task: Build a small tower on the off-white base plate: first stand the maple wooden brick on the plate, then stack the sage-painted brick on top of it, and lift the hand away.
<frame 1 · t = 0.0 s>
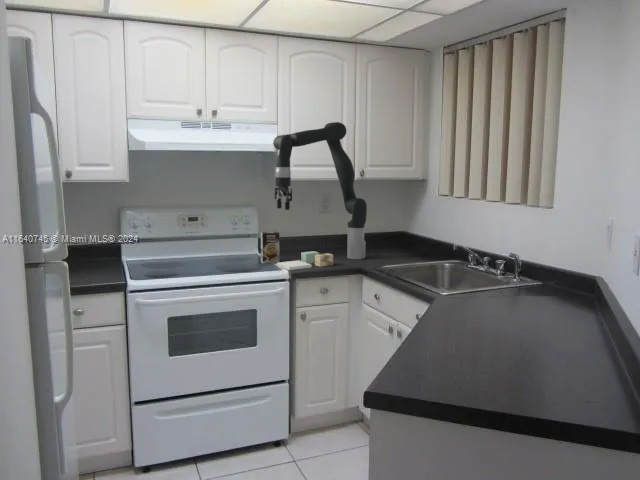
hand: (283, 209, 265), 29 cm above the counter, tool pointing down, fingers open, 8 cm apart
baseplate: (294, 266, 269), on the counter
cookie box: (270, 262, 280), on the counter
maple brick: (324, 265, 274), on the counter
sage brick: (310, 262, 280), on the counter
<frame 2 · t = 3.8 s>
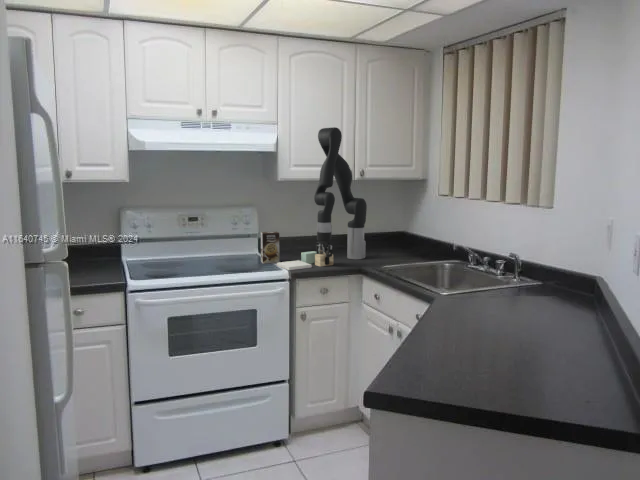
hand: (324, 263, 274), 1 cm above the counter, tool pointing down, fingers closed on maple brick, 5 cm apart
maple brick: (324, 264, 274), on the counter, touching gripper
everything else where it was.
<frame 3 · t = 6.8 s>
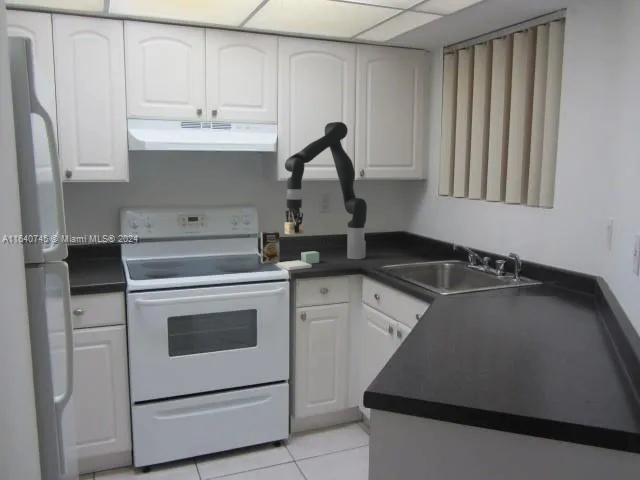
hand: (294, 231, 266), 18 cm above the counter, tool pointing down, fingers closed on maple brick, 5 cm apart
maple brick: (294, 233, 266), point 17 cm above the counter, touching gripper
everything else where it was.
when the fingers open (4 cm above the counter, at t = 9.9 s): maple brick drops 1 cm, resting on baseplate.
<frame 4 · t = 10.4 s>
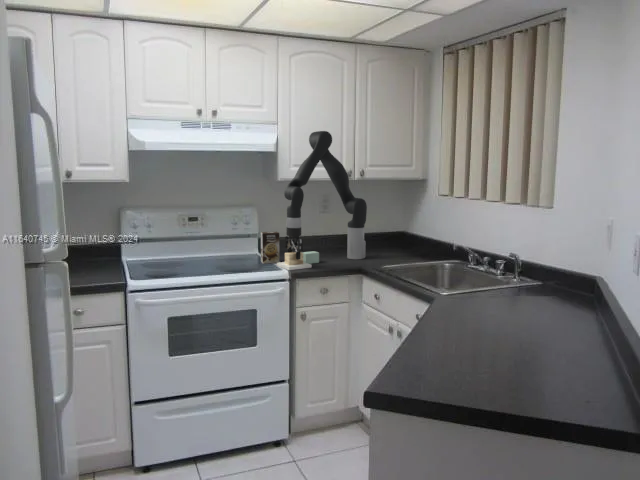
hand: (294, 258, 268), 4 cm above the counter, tool pointing down, fingers open, 8 cm apart
maple brick: (294, 263, 269), point 1 cm above the counter, touching baseplate
everything else where it was.
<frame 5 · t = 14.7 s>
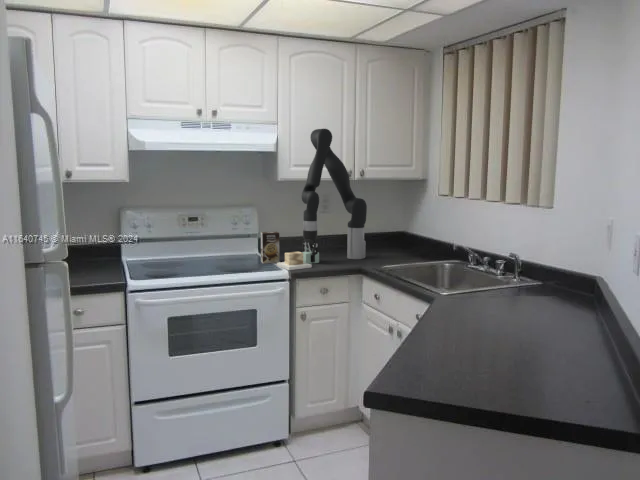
hand: (310, 261, 280), 1 cm above the counter, tool pointing down, fingers closed on sage brick, 5 cm apart
sage brick: (310, 262, 280), on the counter, touching gripper
everything else where it was.
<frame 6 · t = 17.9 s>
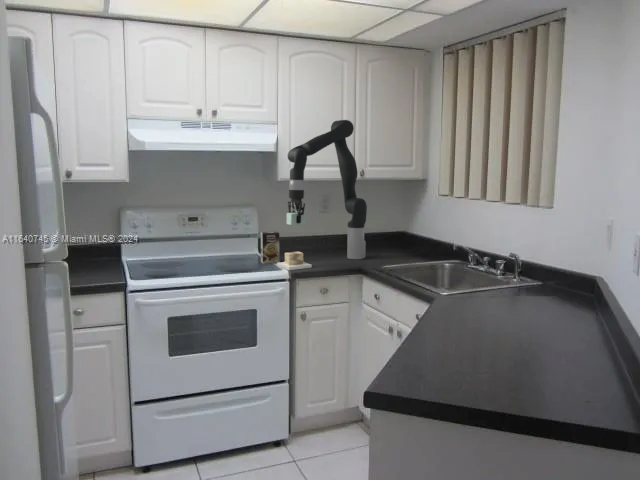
hand: (295, 222, 268), 22 cm above the counter, tool pointing down, fingers closed on sage brick, 5 cm apart
sage brick: (295, 224, 268), point 21 cm above the counter, touching gripper
everything else where it was.
when the fingers open (9 cm above the counter, at t = 20.9 s): sage brick drops 1 cm, resting on maple brick.
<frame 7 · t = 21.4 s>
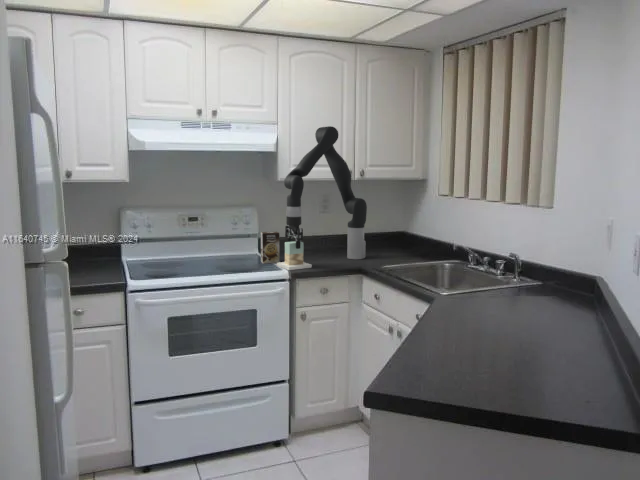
hand: (293, 247, 268), 10 cm above the counter, tool pointing down, fingers open, 8 cm apart
maple brick: (294, 263, 269), point 1 cm above the counter, touching baseplate, sage brick
sage brick: (294, 253, 268), point 7 cm above the counter, touching maple brick
everything else where it was.
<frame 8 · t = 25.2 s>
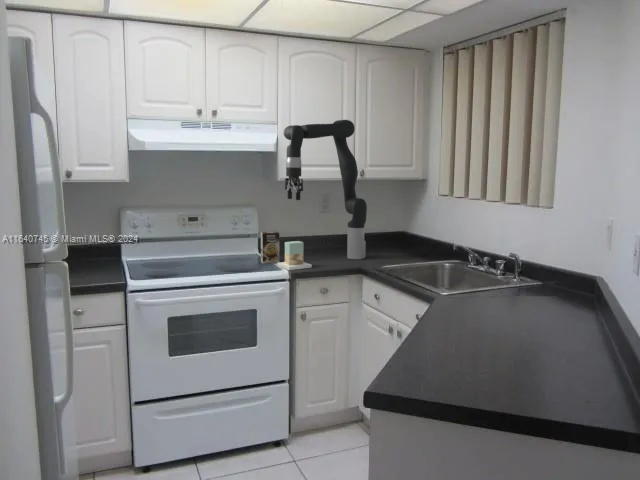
hand: (293, 199, 264), 34 cm above the counter, tool pointing down, fingers open, 8 cm apart
nothing on the counter moved.
at the end: maple brick 0.0 cm off-centre on the baseplate, point 1.5 cm above the baseplate's base; sage brick 0.1 cm off-centre on the baseplate, point 7.0 cm above the baseplate's base; the gripper is holding nothing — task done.
